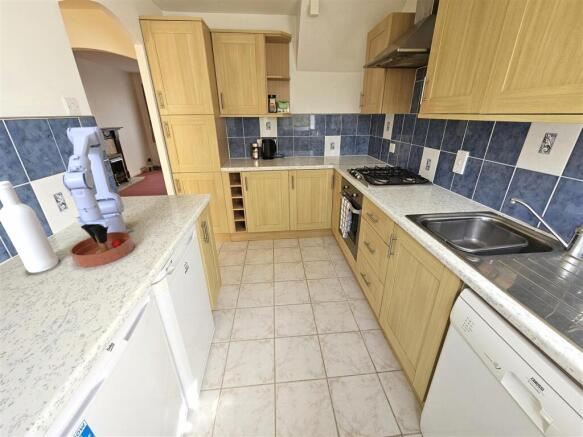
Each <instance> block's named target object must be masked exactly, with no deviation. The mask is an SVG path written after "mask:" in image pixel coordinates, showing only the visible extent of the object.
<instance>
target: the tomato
mask: <svg viewBox="0 0 583 437" xmlns="http://www.w3.org/2000/svg"><path fill="white" fill-rule="evenodd" d="M120 245H121V242H120V241H119V240H114V241H113V242H112V246H113V247H114V248H116V247H118V246H120Z"/></svg>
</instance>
